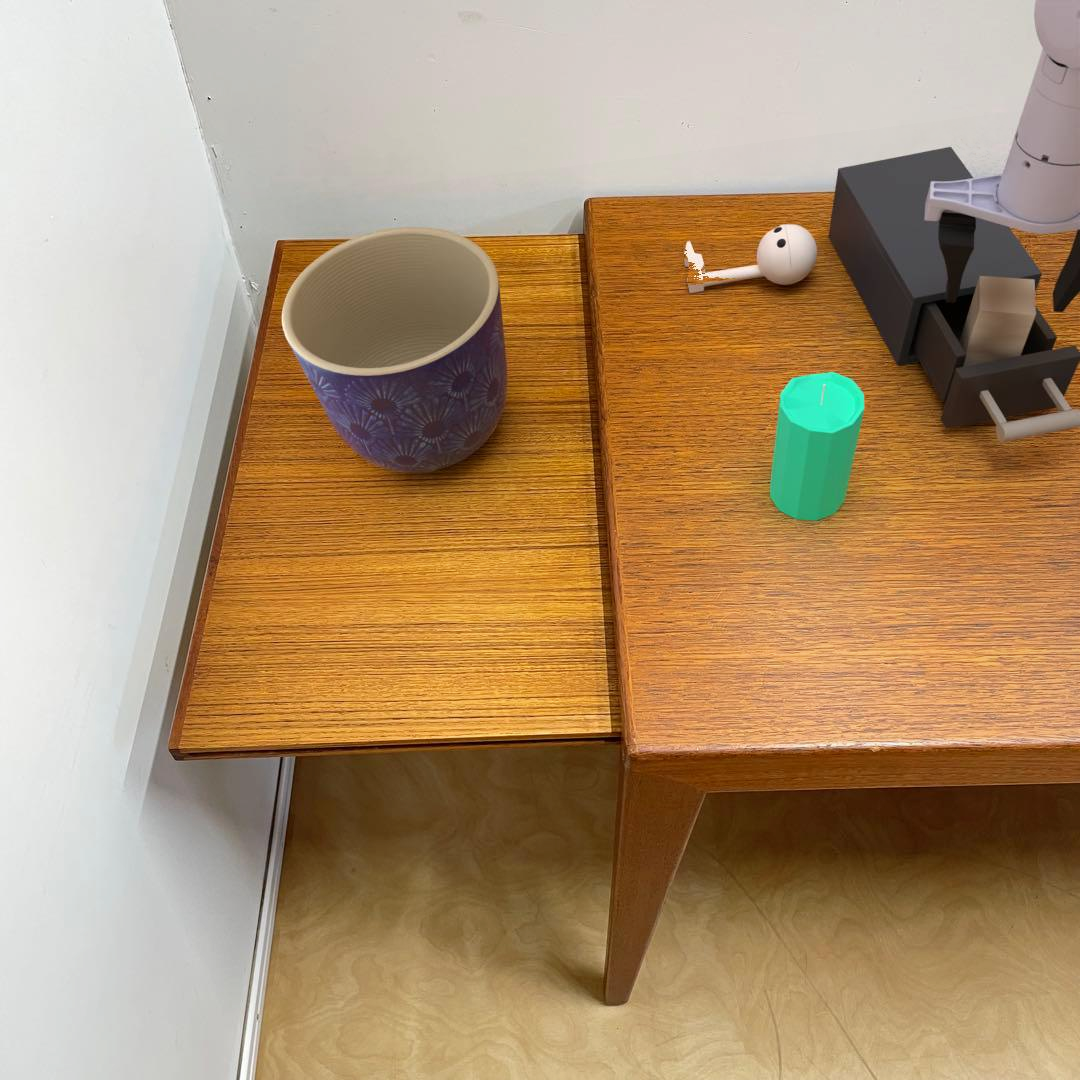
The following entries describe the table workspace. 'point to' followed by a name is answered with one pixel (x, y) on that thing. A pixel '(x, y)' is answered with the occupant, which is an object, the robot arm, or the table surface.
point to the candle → (815, 444)
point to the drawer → (995, 375)
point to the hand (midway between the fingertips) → (1003, 298)
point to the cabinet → (910, 242)
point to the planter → (403, 345)
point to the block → (998, 319)
